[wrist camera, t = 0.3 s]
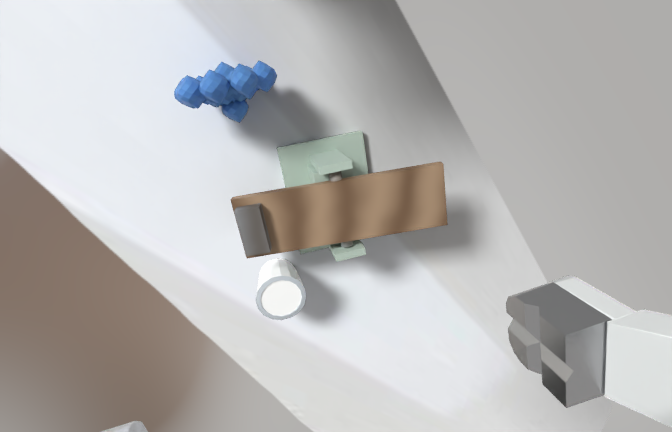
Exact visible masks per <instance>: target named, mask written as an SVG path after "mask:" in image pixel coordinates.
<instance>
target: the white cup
mask: <svg viewBox="0 0 672 432" xmlns="http://www.w3.org/2000/svg"><path fill="white" fill-rule="evenodd" d="M305 300H306V292H305V288H304V286H303V284H302V281H301V279H300V277H299V275H298V273H297V271H296V269H295V267H294V266H293V265H292V263H291V262H289V261H287V260H285V259H279V258H277V259H273V260H270V261H268V262H267V263H265V264H264V265H263V267H262V268H261V270H260V275H259V281H258V288H257V295H256V303H257V307H258V309H259V310H260V312H261V313H262V314H263V315H264V316H266V317H268V318H271V319H276V320H284V319H287V318H291V317H293V316H294V315H296V314H297V313H299V312H300V310H301V309H302V307H303V306H304V305H305Z"/></svg>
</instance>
